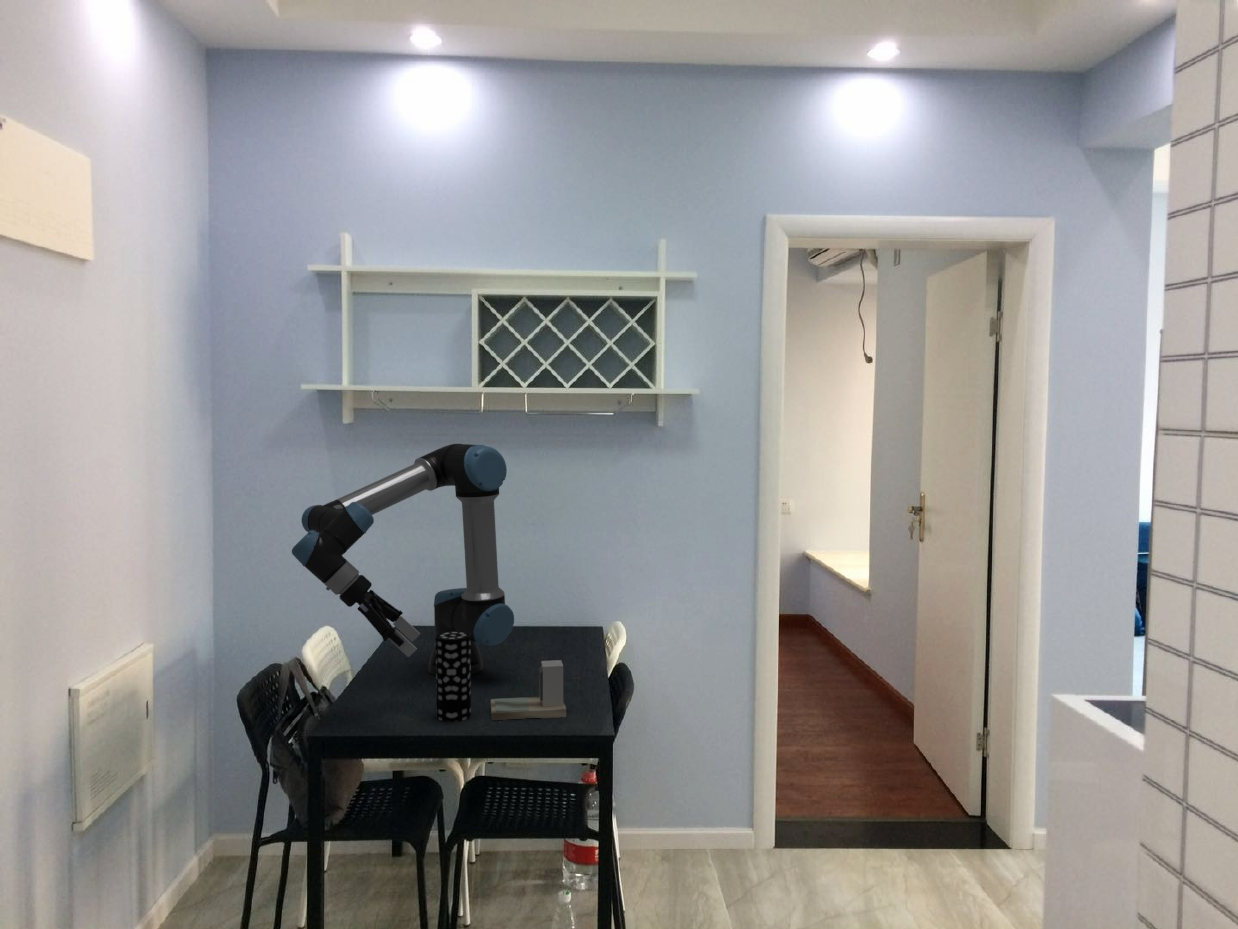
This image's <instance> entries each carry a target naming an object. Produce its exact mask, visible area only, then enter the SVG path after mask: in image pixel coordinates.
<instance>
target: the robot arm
mask: <svg viewBox="0 0 1238 929" xmlns="http://www.w3.org/2000/svg"><path fill="white" fill-rule="evenodd" d="M507 471H508V470H507V463H506V461H505V458H504V457H503V455H502V454H501V453H500V452H499V451H498V450H497V449H496V448H494V447H491V446H488V445H484V444H469V443H467V444H466V443H464V444H463V443H453V444H448V445H445V446H442V447H439V448H437V449H436V450H433V451H431V452H429V453H426V454H423V455H421V456H420V457H417V458H416V459H415V460H414V463H413V464H412V465H410V466H407V467H405V468H403V469H400V470H397V471H396V472H394V473H391V474H389V475H387V476H385V477H383V478H381V479H379V480H377V481H374V482H372V483H370V484H368V485H365V486H364V487H361V488H359V489H356V490H354V491H353V492H350V493H348V494H346V495H343V496H341V497H338V498H336V499H334V500H332V501H330V502H328V503H325V504H323V505H322V504H316V505H315V504H314V505H310V506H309V507H307V508H306V509H305V510H304V512H303V513H302V516H301V526H302V528H303V529H304V530H305V532H307V533H306V534H305V535H304V536H303V537H302V538H301V539H300V540H299V541H298V542H297V543H295V545H294V546H293V547H292V548H291V554H292V555H293V557H294V558H295V559H296V560H297V561H298V562H299V563H300V564H301V565H302V566H303V567H305V568H306V570H308V571H309V572H310V573H311V574H312V575H313V576H315V577H316V578H317V579H318V580H319V581H320V582H321V583H323V584H324V586H325V587H326V588H325V590H326V591H328V592H329V591H331V593H333V594H334V595H336V596H337V595H339V596H338V598H339V600H340V601H342V603H344V604H345V605H346V606H347V607H348V608H350V607H351V608H352V607H353V606H354V605H355V604H356V603H357V604H358V606H357V611H358V612H359V613H361V615H363V616H364V617H365V618H366V620H367V621H368V622H369V623H370V624H371V625H372V627H373V628H374V629H375V630H376V632H377V633H378V634H379V635H380V636H381V637H382V638H381V639H382V640H383V641H384V642H386V641H387V640H388V641H390V643H392V644H393V645H394V646H395V647H396V648H398V649H399V650H400V651H401V652H402V653H403V654H404V655H405V656H406V657H407V658H410V657H411V656H412V655H413V654H414V652H416V651H417V649H418V648H417V647H416V646H415V645H414V644H413V642H414V641H416V639H417V638H418V637H419V636H420V635H421V632H419V630H417V629H416V628H415V627H414V626H413V625H412V624H411V623H410V622H409V621H408V620H407V619H406V618H404V617H403V616H402V615H403V613H404V612H403V611H402V610H399V609H397V608H396V607H395V606H393V605H392V604H390V603H389V602H388V601H386V600H385V599H384V598H382V597H381V596H380V595H378V594H377V593H376V592H375V591H374V590H373V589H371V588H372V582H371V581H370V580H369V579H368V578H367V577H366V576H365V575H363V574H360V571H359V570H358V568H356V567H355V566H354V565H353V564H352V563H351V562H349V560H347V559H346V558H345V556H343V555H344V554H346V553H347V551H348V550H349V549H351V547H353V545H354V544H356V543H357V541H359V539H361V537H362V536H363V535H364V534H367V531H368V530H369V529H370V528H371V527H372V526H373V524H374V522H375V518H374V516H373V515H375V514H377V513H379V512H381V511H384V510H385V509H388V508H390V507H392V506H394V505H396V504H398V503H401V502H402V501H404V500H407V499H409V498H411V497H413V496H415V495H417V494H419V493H422V492H424V491H429V492H432V491H434V490H437V489H439V488H442V487H452V486H454V489H455V490H454V491H455V498H456V499H457V500H459V501H460V502H461V506H462V507H461V509H462V510H461V511H462V528H463V529H462V530H463V545H464V563H465V566H464V567H465V580H466V581H465V582H466V583H465V584H466V587H459V588H450V589H443V590H440V591H438V592H437V593H436V594H435V595H434V600H433V608H434V610H433V611H434V614H433V615H434V620H433V621H434V645H433V648H432V651H431V654H430V656H429V657H430V658H429V661H428V672H429V673H430V674H431V675H434V676H436V635H437V634H439V633H442V632H447V631H464V632H468V633H470V634H471V676H473V675H475V674H478V673H480V672H481V671H482V670H484V669H483V664H484V660H483V658H482V655H481V653H480V648H479V646H478V644H479V645H481V646H482V645H483V646H484V645H486V646H491V647H492V646H496V645H499V644H501V643H503V642H504V641H505V640H506V639H507V638H508V636H509V635H510V634H511V633H512V630H513V628H514V625H515V614H514V612H513V609H511V608H510V606H509V605H507V604H506V597H505V596H506V595H505V591H504V590H502V588H500V585H499V573H498V572H499V570H498V550H497V532H496V530H497V529H496V514H495V513H496V512H495V511H496V510H495V501H496V499H497V498H498V496H499V495H500V487H502V485H504V484H503V483H504V481H506V478H507ZM389 621H390V622H392V623H393V626H394V627H395V628H396V629H395V628H394V627H393V626H392V624H391V623H390V622H389ZM397 629H398V630H397ZM410 641H411V642H410Z"/></svg>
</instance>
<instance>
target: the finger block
mask: <svg viewBox="0 0 1238 929" xmlns="http://www.w3.org/2000/svg"><path fill="white" fill-rule="evenodd" d="M540 665H541V666H540V667H538V697H540V701H542V705H543V707H551V706H563V700H564V664H563V662H562V660H561V659H559V660H541V661H540Z"/></svg>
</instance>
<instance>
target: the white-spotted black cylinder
mask: <svg viewBox="0 0 1238 929" xmlns="http://www.w3.org/2000/svg"><path fill="white" fill-rule="evenodd" d="M435 683H436V685H435V687H436V689H435V690H436V691H435V692H436V693H435V694H436V695H435V696H436V697H435V698H436V702H435V703H436V705H435V706H436V719H437V718H438V719H437V720H439V721H441V720H442V722H446V721H448V723H449V722H450V723H452V722H453V723H454V722H456V723H457V722H462V721H466V720H468V719H470V718H471V716H472V675H471V634H470V633H468V632H464V631H447V632H442V633H439V634H437V635H436V675H435ZM467 718H468V719H467Z"/></svg>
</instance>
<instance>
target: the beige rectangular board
mask: <svg viewBox="0 0 1238 929" xmlns="http://www.w3.org/2000/svg"><path fill="white" fill-rule="evenodd" d="M490 717H491V718H492V719H491V721H492V720H503V721H508V720H507V719H523V720H525V719H524V718H542V719H556V718H557V719H559V718H561V717H562V718H567V706H566V704H565V701H564V699H563V706H551V707H543V705H542V701H540V697H539V696H532V697H526V696H525V697H509V698H508V697H505V698H492V699H490ZM562 718H561V719H562Z"/></svg>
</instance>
